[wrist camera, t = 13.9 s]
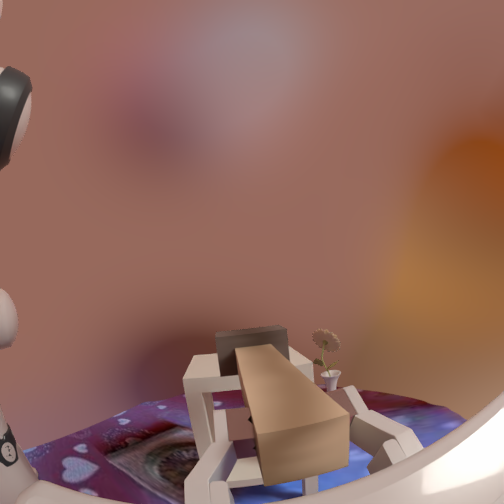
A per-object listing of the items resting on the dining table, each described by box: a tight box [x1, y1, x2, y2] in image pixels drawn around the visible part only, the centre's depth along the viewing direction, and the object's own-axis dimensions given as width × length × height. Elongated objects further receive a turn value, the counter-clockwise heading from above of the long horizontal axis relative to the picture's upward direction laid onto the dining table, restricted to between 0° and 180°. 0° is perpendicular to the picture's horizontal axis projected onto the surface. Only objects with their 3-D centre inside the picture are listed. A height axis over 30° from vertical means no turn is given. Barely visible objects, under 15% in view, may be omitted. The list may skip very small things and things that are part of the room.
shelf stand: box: [183, 346, 318, 496], centre depth 35 cm, size 16×14×26 cm
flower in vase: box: [312, 329, 341, 392], centre depth 59 cm, size 13×11×25 cm
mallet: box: [215, 325, 350, 486], centre depth 16 cm, size 6×18×4 cm, turn 6°
